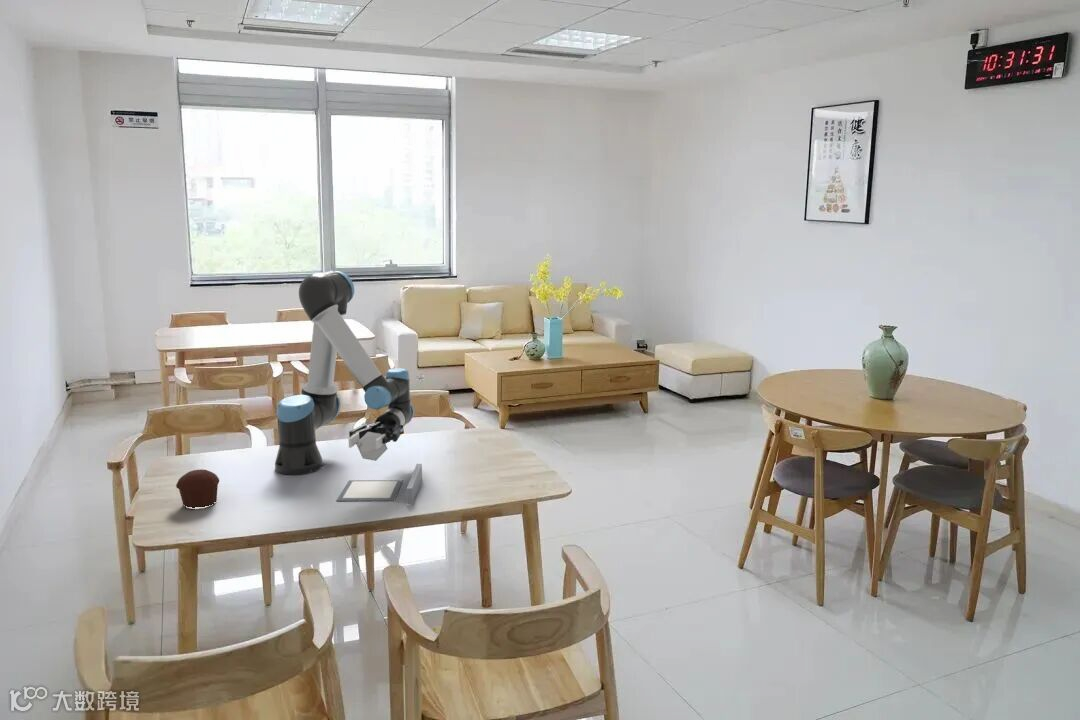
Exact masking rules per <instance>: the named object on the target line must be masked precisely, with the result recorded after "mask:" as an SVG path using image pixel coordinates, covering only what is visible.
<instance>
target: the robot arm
mask: <svg viewBox="0 0 1080 720" xmlns="http://www.w3.org/2000/svg"><path fill="white" fill-rule="evenodd" d="M354 294H355V286H354V283H353V280H352V279H351V278H350V276H349V275H347V274H346V273H345V272H343V271H339V270H327V271H325V272H317V273H312V274H309V275H308V276H306V277H305V278H304V279H303V280H302V281H301V283H300V285H299V288H298V299H299V302H300V304H301V306H302V309H303V310H304V312H305V314H306V315H307V318H309V320H310V321H311V323H313V325H312V326H313V327H312V336H311V347H310V353H309V355H310V356H309V364H308V366H309V367H308V374H307V382H305V384H303V385H302V386H301V394H295V395H294V394H293V395H292V396H287V397H285V398H282V399H280V400H279V402H277V406H276V409H277V410H276V418H277V432H278V433H277V434H278V445H279V446H278V451H277V454H276V457H275V458H276V459H275V461H274V466H275V467H274V470H275V472H277V473H279V474H282V475H291V476H292V475H294V476H295V475H296V476H297V475H305V474H309V473H314V472H316V471H318V470H320V469H321V468H322V467H323V458H322V455H321V451H320V450H319V447H318V445H317V440H316V439H317V438H316V437H317V436H316V430H318V429H319V428H321V427H323V426H325V425H327V424H328V425H329V424H330V423H331V422H332V421H334V419H336V418H337V416H338V415H339V413H340V411H341V399H340V397H339V396H338V389H337V388H336V386H335V385H334V380H335V373H336V363H337V355H339V357H340V358H341V360H342V361H343V363H344V364H345V365H346V367H347V368H348V369H349V372H351V374H352V375H353V377H354V378H355V380H356V381H357V383H358V385H360V387H361V388H362V389H363V392H365V393H364V394H363V397H364V402H365V405H366V406H367V407H368V408H371V409H372V410H375V411H376V410H381V409H383V408H386V407H387V410H386V411H384V412H383V413H382V414H380V415H379V416H378V417H377V418H376V419H375V421H374V423H371V424H370V425H368V424H367V423H366V422H363V423H362V424H361V425H358V426H357V427H356V428H353V429H351V430H349V431H348V433H349V435H348V436H349V437H348V448H350V449H351V448H353V447H354V446H355V445H356V443H357V442H358V441H359V440H360V439H361V438H362V437H363V436H364V435H365V434H366V433H367V432H373V433H379V434H381V436H380V437H379V438H377V439H376V449H379V448H380V447H381V446H382V445H384V444H386V445H387V443H389V442H390V443H391V441H392V442H394V443H396V442H398V440H399V438H400V437H401V435H403V434H404V429H405V428H404V427H405V426H406V425H407V424H409V423H410V422H411V421H412V419H413V418H414V416H415V408H414V406H413V404H412V403H411V393H410V389H411V388H410V376H409V370H408V369H407V368H402V367H401V368H400V367H395V368H390V369H387V370H386V372H385V377H384V376H383V374H382V373H381V372H380V370H379V369H378V367H377V366H376V364H375V362H374V361H373V360H372V358H371V357H370V356H369V354H368V353H367V351H366V349H365V348H364V347H363V346H362V344H361V343H360V341H359V339H358V338H357V336H356V335H355V334H354V332H353V331H352V330H351V328H350V325H348V324H347V322H346V321H345V319H344V318H343V317H344V316H345V315H347V309H348V304H349V302H351V300H352V299H353V298H354Z"/></svg>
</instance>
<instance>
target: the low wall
mask: <svg viewBox="0 0 1080 720" xmlns="http://www.w3.org/2000/svg"><path fill="white" fill-rule="evenodd" d="M422 481H423V464H422V463H416V465H415V467H414V470H413V471H412V475H411V477H410V479H409V481H408V484H407V487H406V505H408V506H409V505H410V506H411V505H413V504H414V501H415V500H416V496H417V493H418V491H419V488H420V486H421V483H422Z"/></svg>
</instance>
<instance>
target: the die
mask: <svg viewBox="0 0 1080 720" xmlns="http://www.w3.org/2000/svg"><path fill="white" fill-rule="evenodd" d="M380 436H381V434H379V433H373V432H367V433H366V434H365V435H364V436H363V437H362V438H361V439H360V440H359V441H358V442H357V443H356V444H355V445H356V447H357V449H358V451H359V453H360V457H361V458H362V459H363V460H364V459H365V460H368V461H369V460H370V461H375V462H376V461H377V460H378V459H379V458H380V457H382V456H383V454H384V453H385V452H386V451H387V450H389V448H388V446H387V443H386V444H384V445H382V446H381V447H380V448H379V449H376V439H377V438H379V437H380Z"/></svg>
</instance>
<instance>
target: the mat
mask: <svg viewBox="0 0 1080 720" xmlns="http://www.w3.org/2000/svg"><path fill="white" fill-rule="evenodd" d="M403 482H404V480H402V479H397V480H396V479H390V480H389V479H386V480H385V479H378V480H377V479H376V480H375V479H371V480H370V479H366V480H365V479H364V480H363V479H362V480H359V479H358V480H355V479H353V480H352V479H349V480H348V481H347V483H346V485H345V486H344V487H343V489H342V491H341V492H340V494H339V496H337V498H336V500H335V501H336V502H338V503H339V502H341V503H342V502H343V503H346V502H354V503H355V502H356V503H357V502H361V503H362V502H371V503H372V502H374V503H375V502H395V500H396V498H397V496H398V494H399V491H400V489H401V487H402V484H403Z"/></svg>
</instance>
